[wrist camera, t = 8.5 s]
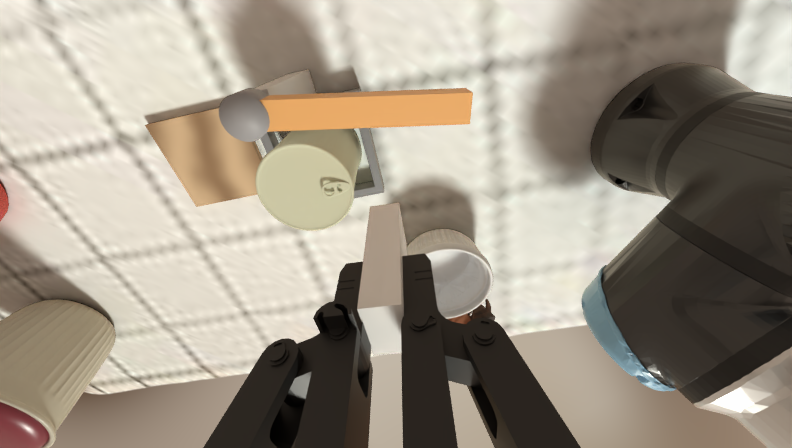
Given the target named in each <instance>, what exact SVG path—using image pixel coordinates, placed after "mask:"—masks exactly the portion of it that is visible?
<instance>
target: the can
mask: <svg viewBox="0 0 792 448" xmlns="http://www.w3.org/2000/svg"><path fill="white" fill-rule="evenodd" d="M361 156H362V150H361V145H360V141H359V139H358V137H357V135H356V133H355V132H354V130H353V129H325V130H299V131H290V133H289V134H288V135H287V136H286V137H285V138H284V139H283V140H282V141H281V142H280V143H279V144H278V145H277V146H276V147H275V148H274V149H273V150H271V151H270V152H269V153H267V154H266V155H265V157H264V158H263V159H262V160H261V162H260V164H259V166H258V168H257V172H256V178H255V183H256V190H257V194H258V196H259V199H260V201H261V203H262V204H263V206H264V207H265V208H266V210H267V211H268V212H269V213H270V214H271V215H272V216H273V217H274V218H276V219H277V220H279V221H280V222H282V223H283V224H285V225H288V226H290V227H292V228H296V229H300V230H306V231H317V230H323V229H326V228H329V227H332V226H334V225H335V224H337V223H339V222H340V221H341V220H342V219H343V218H344V217H345V216H346V215H347V214H348V212H349V210H350V208H351V206H352V203H353V199H354V187H355V181H356V175H357V170H358V167H359V165H360V162H361Z"/></svg>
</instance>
